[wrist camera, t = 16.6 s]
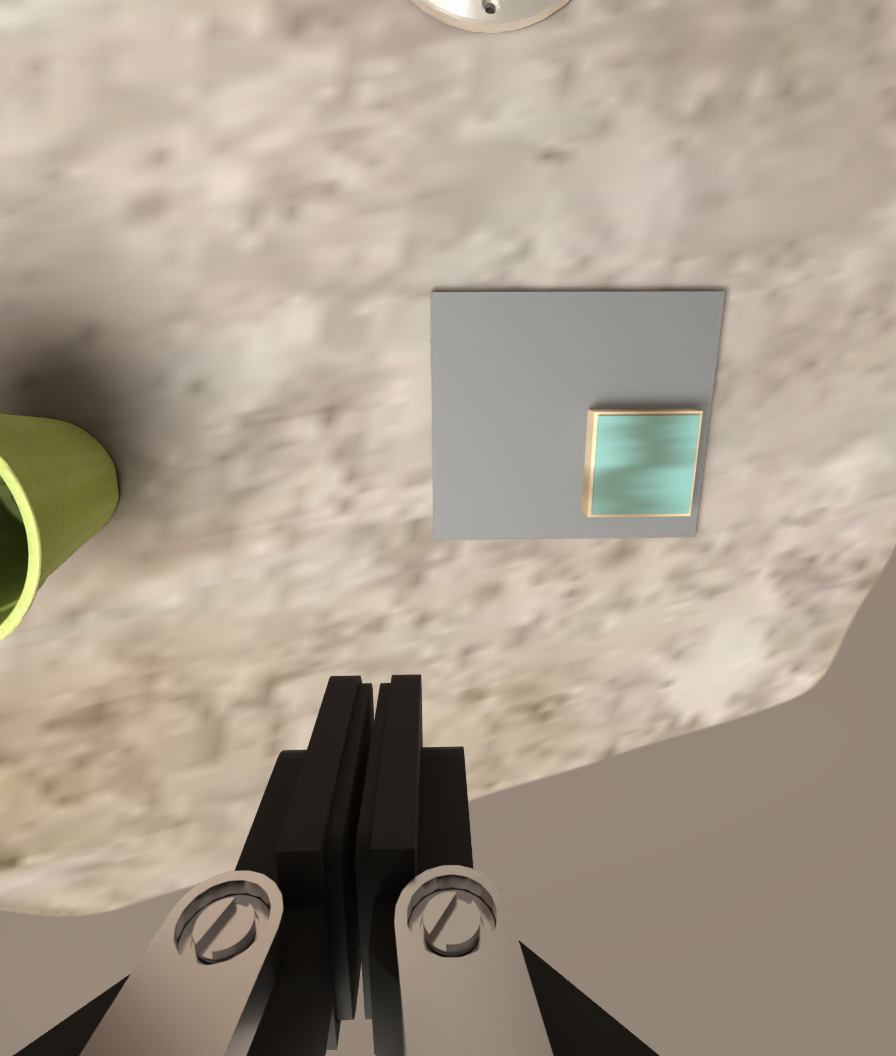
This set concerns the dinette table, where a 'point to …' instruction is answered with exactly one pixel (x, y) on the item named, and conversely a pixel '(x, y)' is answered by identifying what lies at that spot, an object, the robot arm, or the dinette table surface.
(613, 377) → the mat
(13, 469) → the plant pot
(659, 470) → the tile
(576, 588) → the dinette table surface
